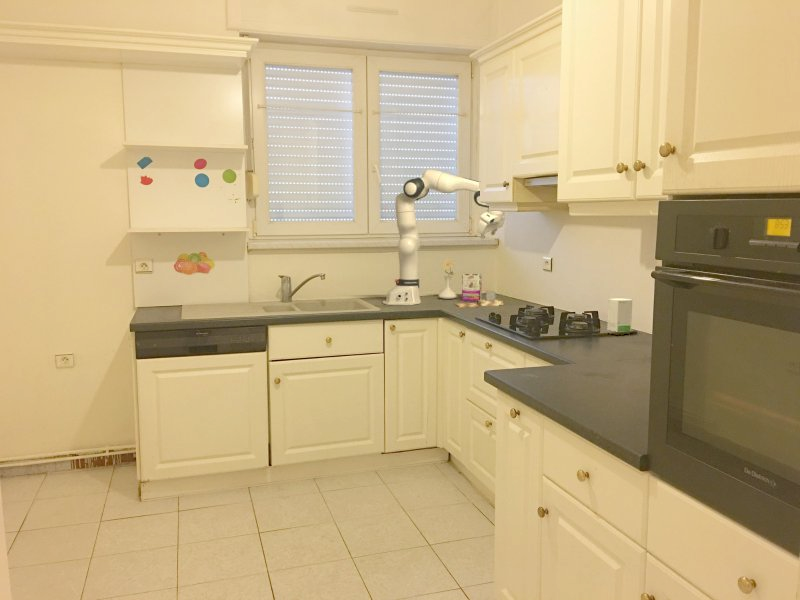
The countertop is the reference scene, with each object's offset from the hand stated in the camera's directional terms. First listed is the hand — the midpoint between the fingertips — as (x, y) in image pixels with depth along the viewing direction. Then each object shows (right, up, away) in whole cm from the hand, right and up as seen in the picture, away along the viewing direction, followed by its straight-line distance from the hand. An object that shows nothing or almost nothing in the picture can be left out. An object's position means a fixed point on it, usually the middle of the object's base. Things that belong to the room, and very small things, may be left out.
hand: (487, 236), depth 377 cm
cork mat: (-11, -39, +3) cm, 41 cm away
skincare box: (+46, -51, -87) cm, 111 cm away
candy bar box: (-6, -37, +23) cm, 44 cm away
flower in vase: (-20, -35, +32) cm, 52 cm away
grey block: (+2, -39, +6) cm, 39 cm away
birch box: (+2, -39, +6) cm, 39 cm away
